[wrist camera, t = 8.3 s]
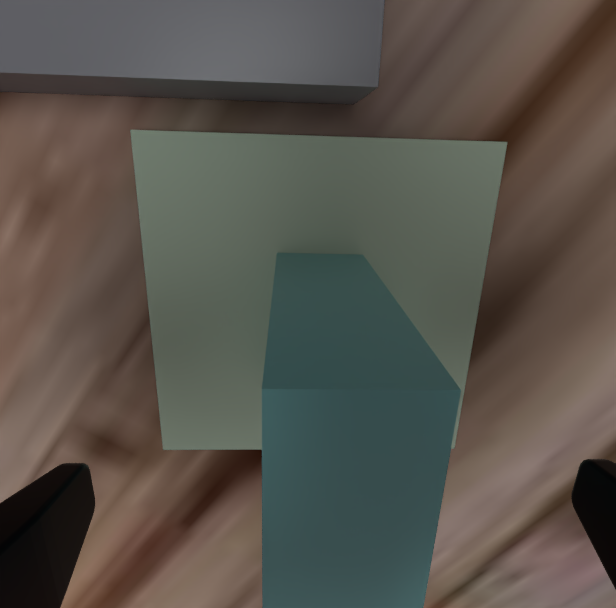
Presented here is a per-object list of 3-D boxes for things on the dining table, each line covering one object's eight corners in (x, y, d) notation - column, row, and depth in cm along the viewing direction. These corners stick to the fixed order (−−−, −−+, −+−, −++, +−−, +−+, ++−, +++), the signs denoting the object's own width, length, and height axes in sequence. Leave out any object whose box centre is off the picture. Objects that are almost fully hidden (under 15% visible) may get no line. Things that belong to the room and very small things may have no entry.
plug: (363, 254, 15) (460, 390, 6) (353, 381, 17) (421, 620, 8) (277, 252, 15) (261, 388, 6) (275, 380, 16) (262, 623, 8)
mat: (498, 142, 14) (507, 141, 14) (449, 439, 18) (454, 448, 18) (136, 130, 14) (130, 129, 13) (167, 440, 18) (162, 449, 17)
